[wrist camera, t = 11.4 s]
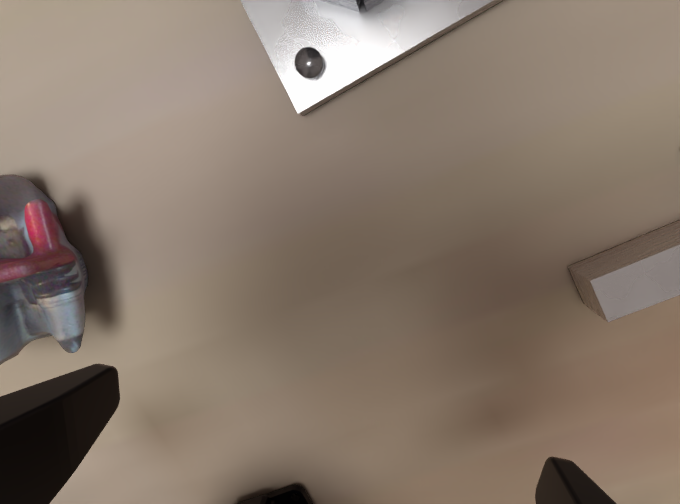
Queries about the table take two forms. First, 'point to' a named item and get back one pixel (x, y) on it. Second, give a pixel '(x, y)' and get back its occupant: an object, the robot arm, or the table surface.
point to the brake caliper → (37, 272)
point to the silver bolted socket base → (348, 39)
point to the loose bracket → (631, 274)
